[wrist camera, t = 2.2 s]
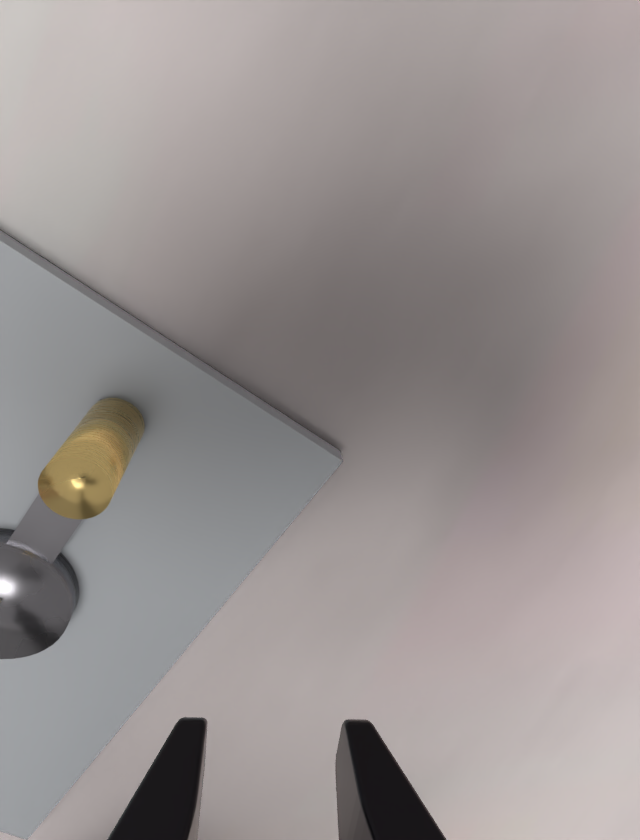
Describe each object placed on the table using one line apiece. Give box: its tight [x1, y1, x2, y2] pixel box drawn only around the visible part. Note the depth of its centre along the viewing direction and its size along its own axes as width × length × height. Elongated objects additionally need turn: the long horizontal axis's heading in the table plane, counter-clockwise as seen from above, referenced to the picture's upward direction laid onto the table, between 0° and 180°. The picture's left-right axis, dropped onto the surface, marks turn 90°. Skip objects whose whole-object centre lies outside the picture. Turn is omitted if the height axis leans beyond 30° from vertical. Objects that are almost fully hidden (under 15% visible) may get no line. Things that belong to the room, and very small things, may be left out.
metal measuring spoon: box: [0, 398, 146, 659], centre depth 17 cm, size 5×11×4 cm, turn 143°
